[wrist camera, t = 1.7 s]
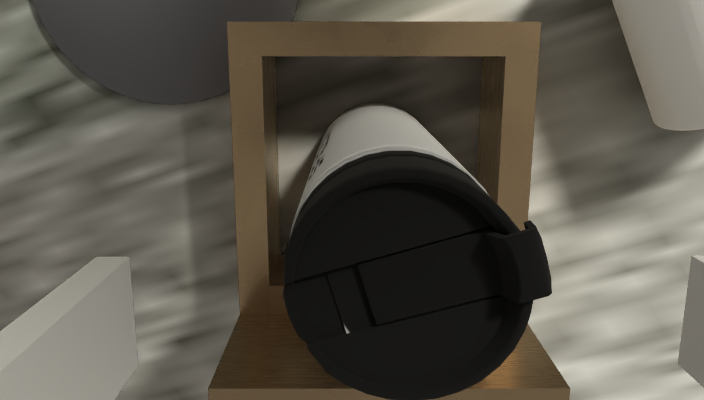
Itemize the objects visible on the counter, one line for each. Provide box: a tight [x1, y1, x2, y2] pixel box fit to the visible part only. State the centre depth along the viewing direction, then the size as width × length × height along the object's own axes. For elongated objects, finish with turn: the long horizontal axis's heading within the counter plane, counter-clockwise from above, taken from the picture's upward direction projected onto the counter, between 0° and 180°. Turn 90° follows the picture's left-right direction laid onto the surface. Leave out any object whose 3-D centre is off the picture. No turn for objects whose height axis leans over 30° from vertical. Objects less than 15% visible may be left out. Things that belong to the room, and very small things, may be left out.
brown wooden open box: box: [208, 22, 570, 400], centre depth 28 cm, size 16×14×12 cm
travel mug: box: [283, 103, 552, 400], centre depth 24 cm, size 6×7×20 cm
